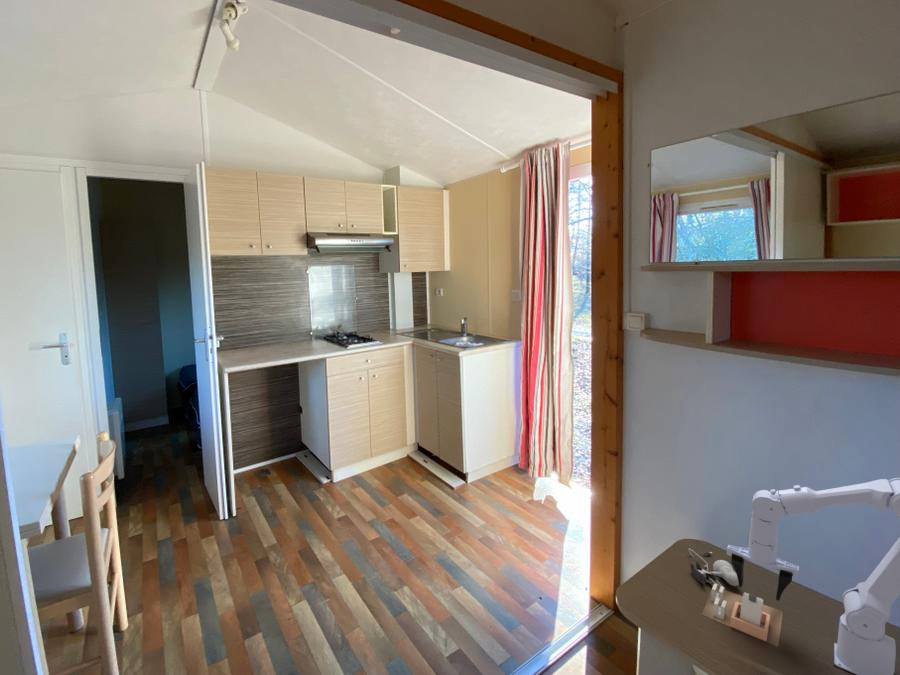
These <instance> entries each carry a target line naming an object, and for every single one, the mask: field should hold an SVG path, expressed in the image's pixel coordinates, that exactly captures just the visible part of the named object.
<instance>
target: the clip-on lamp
mask: <svg viewBox="0 0 900 675" xmlns="http://www.w3.org/2000/svg"><path fill="white" fill-rule="evenodd" d="M687 550H688V552H689V554H690V555H691V556H692V557H694V555H693V554H692V553H694V554H695V555H696V556H697V557H699V559H701V560H702V561H703V562H704V563H705V564H704V568H703V567H702V566H701V564H700V563H699V562H695V565H694V563H689V564H690V565H689V566H690V574H691V576H693V577H694V579H696V580H697V581H699V582H700V583H701V584H702V585H703V586H705V585H707V583H711V584H714V583H715V584H717V587H719V588H720V587H721V586H722V584H721V583H720V582H719V580H717V577H719V578H722V579H724V580H725V581H726V582H727V583H728V584H729V585H731V586H732V587H737V586H739V582H738V578H737V574H736V571H735V570H734V569H733V568H734V567H733V565H732V564H730V563H729V562H728V561H726V560H724V559H717V560H715V561H714V562H713V565H712V569H713V571H709V564H708V562H707V561H706V560H705V559H704V558H708V557H709V556H711V554H713V552H712V551H707V552H705V553H704V554H702V555H701V556H700V554H698V553H697V552H695V551H694V550H693V549H691V548H687ZM695 567H696V568H695ZM705 568H706V569H705ZM716 576H717V577H716Z"/></svg>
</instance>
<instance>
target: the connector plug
mask: <svg viewBox="0 0 900 675" xmlns="http://www.w3.org/2000/svg"><path fill="white" fill-rule="evenodd" d="M742 596H743V598H742V601H741V613H740V619H741V620H744V621H746V622H749V623H751V624H753V625H756V626H758V627H761V619H762V608H763V604H764V599H763V598H761V597H757V595H755V594H753V593H747V592H746V591H744V592H743V594H742Z"/></svg>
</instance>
